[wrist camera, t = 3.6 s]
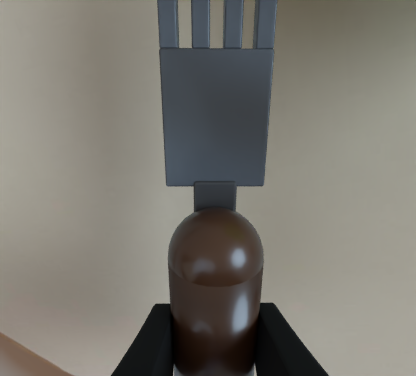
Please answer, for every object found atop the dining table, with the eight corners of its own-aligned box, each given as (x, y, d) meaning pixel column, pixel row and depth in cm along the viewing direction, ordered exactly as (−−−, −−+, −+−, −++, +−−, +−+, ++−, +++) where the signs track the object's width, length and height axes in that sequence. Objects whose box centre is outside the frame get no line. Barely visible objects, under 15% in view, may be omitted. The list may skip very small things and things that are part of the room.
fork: (243, 401, 12) (255, 493, 9) (179, 402, 12) (171, 495, 9) (285, -179, 6) (367, -476, 3) (151, -183, 6) (98, -487, 3)
